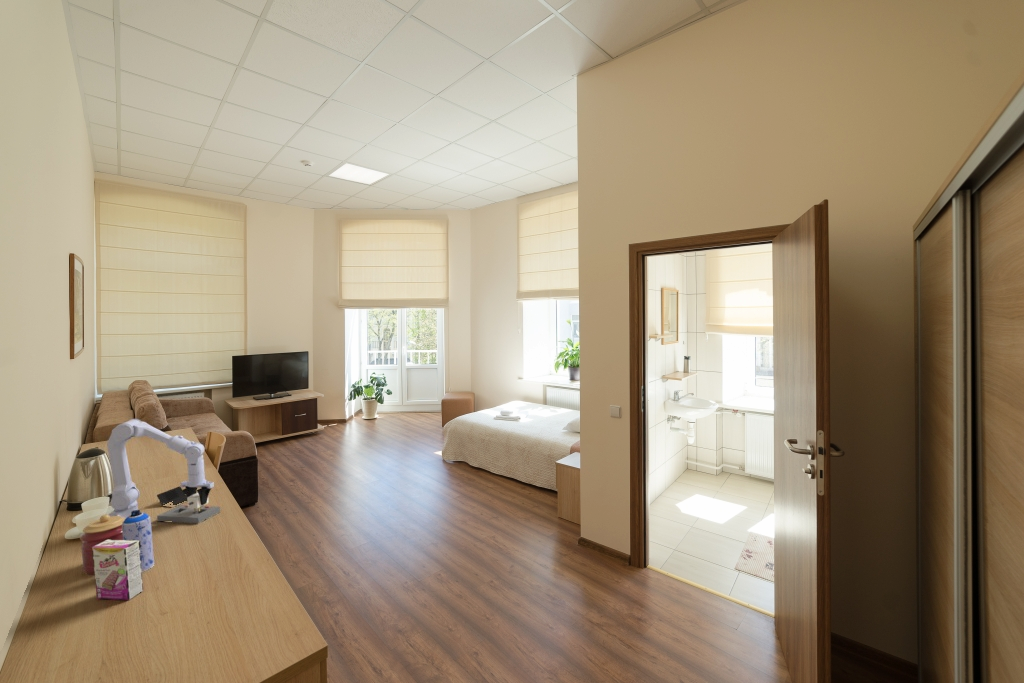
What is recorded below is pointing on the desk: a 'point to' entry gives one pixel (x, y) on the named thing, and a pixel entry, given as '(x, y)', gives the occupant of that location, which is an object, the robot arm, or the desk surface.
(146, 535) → the aerosol can
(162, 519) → the socket
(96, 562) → the candy bar box
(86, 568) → the canister
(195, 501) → the plug
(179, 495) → the black angular piece
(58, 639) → the desk surface
